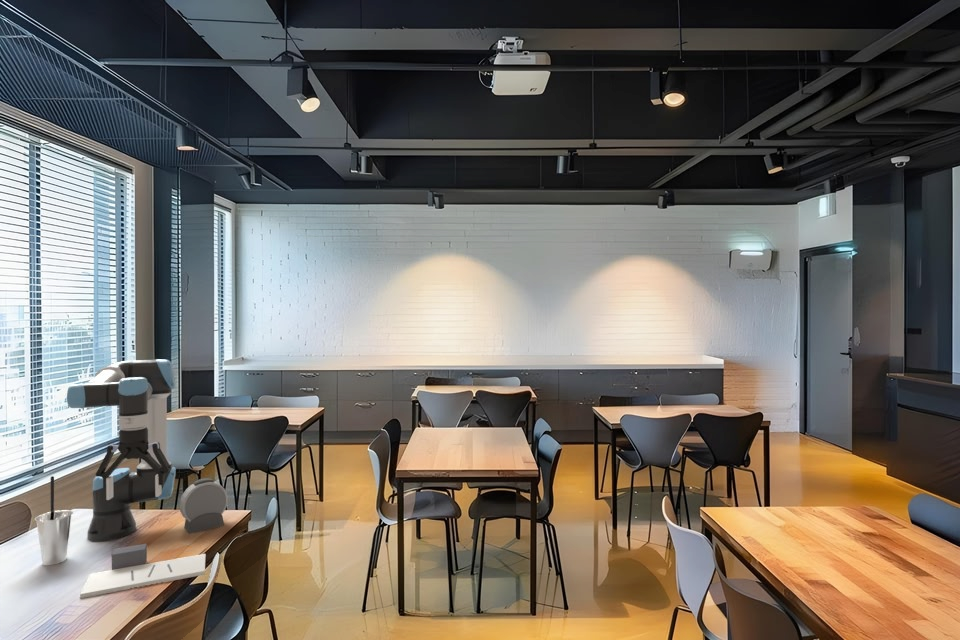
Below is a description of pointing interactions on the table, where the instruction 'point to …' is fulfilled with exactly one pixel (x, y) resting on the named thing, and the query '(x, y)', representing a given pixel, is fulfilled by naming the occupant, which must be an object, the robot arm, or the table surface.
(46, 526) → the metal cup with straw
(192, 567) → the board
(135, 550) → the block
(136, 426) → the robot arm
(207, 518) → the alarm clock
